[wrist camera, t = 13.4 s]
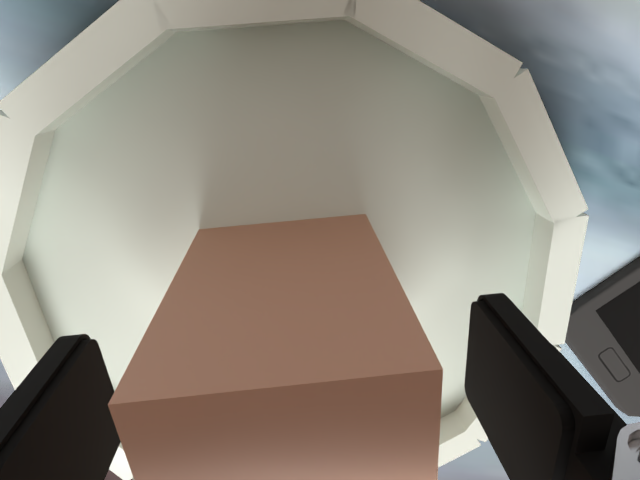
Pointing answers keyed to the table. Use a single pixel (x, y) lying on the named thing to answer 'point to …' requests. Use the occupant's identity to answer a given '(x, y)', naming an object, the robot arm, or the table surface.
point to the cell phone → (611, 336)
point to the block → (283, 363)
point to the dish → (280, 170)
